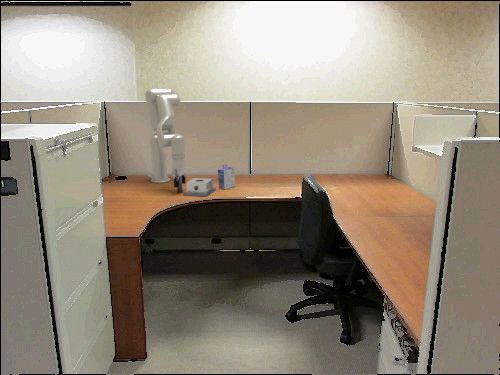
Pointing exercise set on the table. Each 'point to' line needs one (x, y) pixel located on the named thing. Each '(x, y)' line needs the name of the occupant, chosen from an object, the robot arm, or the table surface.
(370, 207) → the table surface
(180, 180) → the steel pin
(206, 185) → the block
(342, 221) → the table surface
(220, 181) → the ink cartridge box
